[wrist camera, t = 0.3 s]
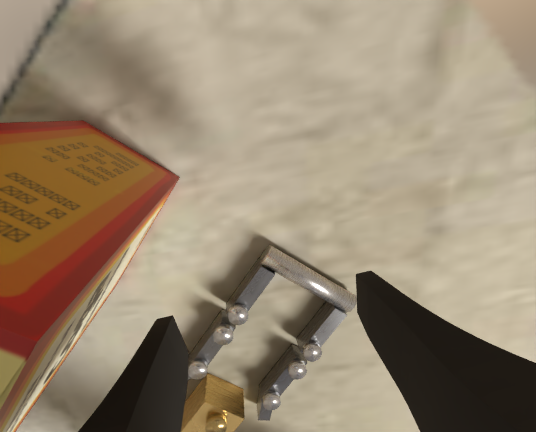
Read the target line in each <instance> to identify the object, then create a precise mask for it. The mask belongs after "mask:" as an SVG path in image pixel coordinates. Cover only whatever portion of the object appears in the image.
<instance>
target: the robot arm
mask: <svg viewBox="0 0 536 432" xmlns="http://www.w3.org/2000/svg"><path fill="white" fill-rule="evenodd" d="M356 288H357V313H358V315H359V317H360V320H361V322H362V324H363V326H364V329H365V331H366V333H367V335H368V337H369V339H370V341H371V342H372V344H373V346H374V348H375V349H376V351H377V353H378V354H379V356H380V358H381V359H382V361H383V363H384V364H385V366H386V368H387V370H388V371H389V373H390V375H391V376H392V378H393V380H394V381H395V383H396V385H397V386H398V388H399V390H400V392H401V393H402V395H403V397H404V399H405V401H406V403H407V405H408V407H409V409H410V411H411V413H412V415H413V417H414V419H415V421H416V423H417V425H418V428H419V430H420V432H536V363H534V362H532V361H529V360H527V359H524V358H522V357H520V356H517V355H515V354H512V353H510V352H508V351H506V350H503V349H501V348H499V347H497V346H494V345H492V344H490V343H488V342H486V341H484V340H482V339H479V338H477V337H475V336H474V335H472V334H470V333H468V332H466V331H464V330H462V329H460V328H458V327H456V326H454V325H453V324H451V323H449V322H447V321H445V320H444V319H442V318H440V317H439V316H437V315H435V314H434V313H432V312H430V311H429V310H427V309H426V308H424V307H422V306H421V305H419V304H418V303H416V302H415V301H413V300H412V299H410V298H409V297H407V296H406V295H404V294H403V293H402V292H400V291H399V290H397V289H396V288H395V287H393V286H392V285H390V284H389V283H388V282H386V281H385V280H383V279H382V278H381V277H379V276H378V275H376V274H375V273H374V272H372V271H367V272H363V273H358V274H356ZM187 382H188V350H187V348H186V345H185V343H184V340H183V338H182V336H181V333H180V331H179V329H178V326H177V324H176V322H175V319H174V317H173V316H169V317H164V318H160V319H157V320H156V321H155V323H154V324H153V326H152V327H151V329H150V331H149V332H148V334H147V336H146V337H145V339H144V340H143V342H142V344H141V345H140V347H139V348H138V350H137V352H136V353H135V355H134V356H133V358H132V359H131V361H130V362H129V364H128V365H127V367H126V368H125V370H124V372H123V373H122V374H121V376H120V377H119V379H118V380H117V382H116V383H115V384H114V386H113V387H112V389H111V390H110V391H109V393H108V394H107V396H106V397H105V398H104V400H103V401H102V403H101V404H100V405H99V406H98V408H97V409H96V410H95V412H94V413H93V414H92V416H91V417H90V418H89V419H88V420H87V422H86V423H85V424H84V425H83V427H82V428H81V429H80V430H79V431H78V432H181V427H182V420H183V412H184V405H185V398H186V390H187Z"/></svg>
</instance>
